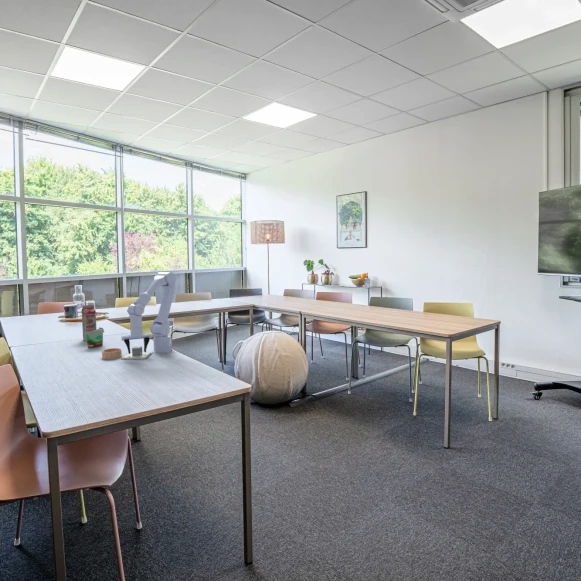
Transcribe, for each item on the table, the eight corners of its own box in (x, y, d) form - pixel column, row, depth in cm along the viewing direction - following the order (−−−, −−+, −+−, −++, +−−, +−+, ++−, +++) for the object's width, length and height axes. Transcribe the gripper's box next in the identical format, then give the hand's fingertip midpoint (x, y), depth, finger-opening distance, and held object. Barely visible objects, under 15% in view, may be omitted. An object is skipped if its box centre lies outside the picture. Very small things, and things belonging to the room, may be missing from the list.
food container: (95, 348, 235) (95, 331, 234) (86, 348, 236) (85, 331, 236) (109, 344, 247) (108, 327, 246) (100, 343, 249) (99, 327, 248)
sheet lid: (151, 353, 222) (150, 344, 221) (145, 358, 211) (144, 349, 210) (130, 353, 221) (129, 345, 221) (123, 359, 210) (122, 350, 210)
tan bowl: (123, 355, 220) (123, 348, 220) (117, 359, 211) (117, 352, 211) (106, 355, 219) (106, 348, 219) (99, 360, 210) (99, 352, 210)
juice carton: (83, 339, 260) (81, 305, 258) (94, 338, 264) (92, 304, 262) (85, 341, 254) (83, 306, 252) (97, 340, 258) (95, 305, 256)
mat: (153, 354, 223) (153, 353, 223) (146, 360, 210) (146, 359, 210) (128, 354, 222) (128, 353, 222) (120, 360, 209) (120, 359, 209)
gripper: (149, 324, 221) (150, 349, 223) (120, 327, 215) (121, 352, 216) (151, 326, 215) (152, 352, 216) (121, 329, 208) (122, 355, 210)
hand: (137, 352), depth 216 cm, fingers open, 7 cm apart
